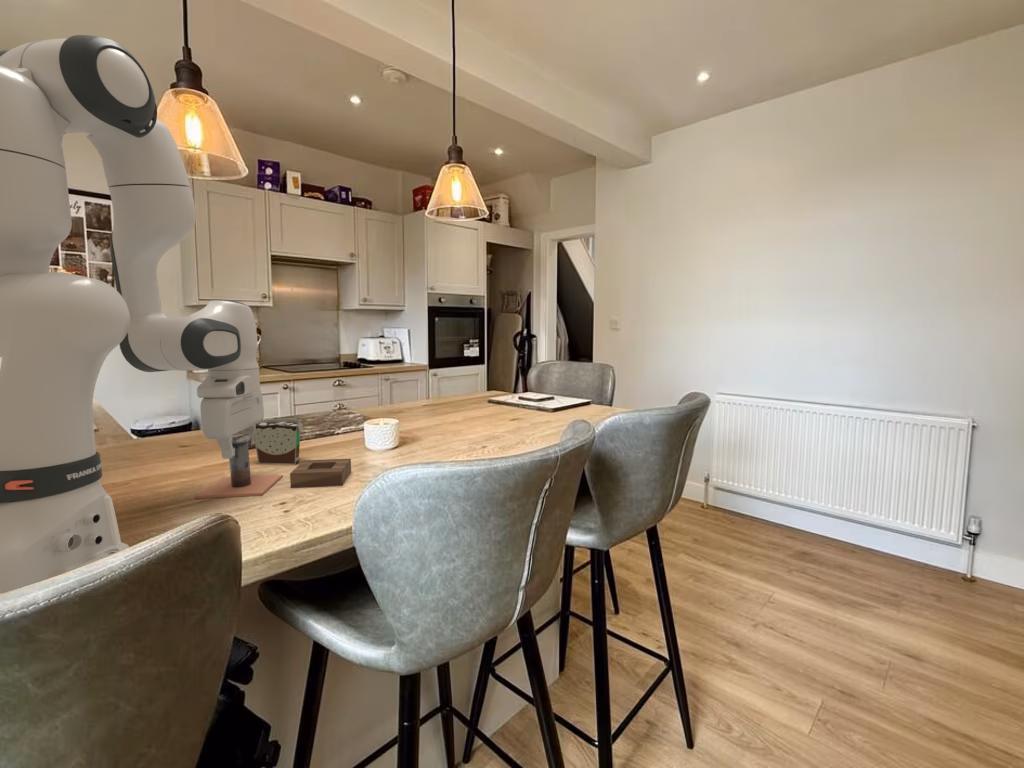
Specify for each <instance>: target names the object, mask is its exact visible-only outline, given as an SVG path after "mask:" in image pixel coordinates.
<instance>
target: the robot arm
mask: <svg viewBox="0 0 1024 768" xmlns="http://www.w3.org/2000/svg"><path fill="white" fill-rule="evenodd" d="M76 133H77V134H79V133H84V134H88V135H86V138H87V140H89V141H90V143H91V144H92V145H93V146H94V148H95V150H96V151H97V152H98V155H99V156H100V157H101V161H102V167H103V170H104V171H103V172H104V176H105V180H106V184H107V188H108V192H109V196H110V199H111V206H112V214H113V227H112V231H111V233H110V239H109V240H110V241H109V246H110V247H109V248H110V249H109V250H110V259H111V265H112V270H113V271H112V273H113V278H114V282H115V287H113V286H112V285H110V284H109V283H107V282H105V281H103V280H100V279H96V278H94V277H93V278H92V277H88V276H83V275H80V274H79V275H78V274H74V273H67V272H63V271H62V272H61V271H58V272H57V271H56V272H55V271H54V272H49V271H50V270H49V269H50V265H51V263H52V258H53V256H54V254H55V251H56V250H57V248H58V247H59V245H61V244H62V243H63V242H64V241H65V240H66V239H67V238H68V236H69V234H70V233H71V230H72V225H73V222H72V221H73V220H72V213H71V203H70V196H69V195H70V194H69V187H68V179H67V170H66V161H65V156H64V150H63V145H62V144H63V137H64V135H65V134H76ZM185 167H186V166H185V164H184V161H183V158H182V156H181V152H180V150H179V148H178V146H177V143H176V142H175V139H174V137H173V134H172V132H171V131H170V129H169V128H168V126H167V124H165V123H164V122H163V121H162V120H160V119H158V106H157V103H156V98H155V93H154V90H153V87H152V85H151V81H150V79H149V77H148V75H147V74H146V72H145V70H144V68H143V66H142V65H141V64H140V63H139V61H138V60H137V59H136V57H135V56H134V55H133V54H132V53H131V52H130V51H129V50H128V49H127V48H125V47H124V46H123V45H121V44H120V43H118V42H116V41H114V40H112V39H110V38H105V37H103V36H98V35H97V36H96V35H90V34H77V35H75V34H74V35H72V36H69V37H67V38H64V37H62V38H61V37H60V38H52V39H37V40H34V41H33V40H32V41H31V42H27V43H24V44H20V45H18V46H16V47H14V48H7V49H3V50H0V358H1V363H0V593H3V592H7V591H10V590H14V589H17V588H21V587H24V586H27V585H30V584H33V583H36V582H39V581H42V580H45V579H48V578H51V577H54V576H57V575H59V574H62V573H65V572H67V571H70V570H72V569H76V568H78V567H81V566H84V565H86V564H89V563H92V562H94V561H96V560H99V559H101V558H104V557H106V556H109V555H112V554H114V553H117V552H119V551H121V550H123V549H125V548H128V547H129V548H130V546H129V544H127V543H125V542H122V541H121V535H120V530H119V526H118V525H119V524H118V521H117V520H118V519H117V517H116V512H115V507H114V502H113V499H112V497H111V496H110V494H109V493H107V491H106V490H105V489H104V488H103V486H102V483H101V478H102V477H103V461H102V460H101V455H100V452H98V451H96V441H95V428H94V411H93V410H94V409H93V408H94V407H93V405H94V403H93V401H94V393H95V389H96V388H95V387H96V383H97V380H98V377H99V374H100V371H101V369H102V366H103V364H104V362H105V361H106V359H107V357H108V356H109V354H110V353H111V352H112V351H113V350H114V349H115V348H117V347H118V345H119V349H120V352H121V354H122V356H123V357H124V359H125V360H126V362H127V363H128V364H130V365H131V366H132V367H133V368H135V369H136V370H138V371H142V372H145V373H159V372H167V371H180V372H181V371H182V372H183V371H184V372H185V371H186V372H187V371H207V376H206V377H205V379H204V380H203V381H202V382H201V383H200V384H199V385H198V386H197V388H196V394H197V397H198V399H201V401H200V419H201V426H202V427H201V428H202V432H203V435H204V437H205V438H206V439H207V440H217V442H216V443H217V444H218V446H219V448H220V450H221V458H222V459H225V460H229V459H230V458H232V457H234V456H235V448H233V446H232V442H231V441H232V435H237V434H239V433H240V432H241V431H243V434H249V435H250V441H248V448H251V447H252V446H254V445H255V440H254V434H255V430H256V424H257V423H259V422H261V421H263V420H264V419H265V408H264V407H265V406H264V401H263V400H264V399H263V394H262V393H263V392H262V390H261V383H260V379H261V378H260V367H259V363H258V360H257V351H258V331H257V324H256V319H255V315H254V313H253V310H252V308H251V307H250V306H248V305H247V304H245V303H243V302H239V301H235V300H227V299H213V300H209V301H208V302H207V303H206V304H207V305H206V306H204V307H203V308H202V309H200V310H198V311H195V312H194V313H190V314H187V316H178V317H173V316H171V317H169V316H166V314H164V312H163V309H162V304H161V298H160V297H161V295H160V289H159V281H158V275H157V273H158V271H157V270H158V264H159V262H160V260H161V258H162V257H163V256H164V255H165V254H166V253H167V252H168V251H170V249H172V248H173V247H175V246H177V245H179V244H180V243H181V242H183V241H184V240H185V239H186V238H187V237H189V235H190V234H191V233H192V231H193V229H194V227H195V225H196V220H197V219H196V217H197V215H196V213H197V212H196V204H195V200H194V196H193V192H192V188H191V185H190V180H189V177H188V173H187V170H186V168H185Z"/></svg>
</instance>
